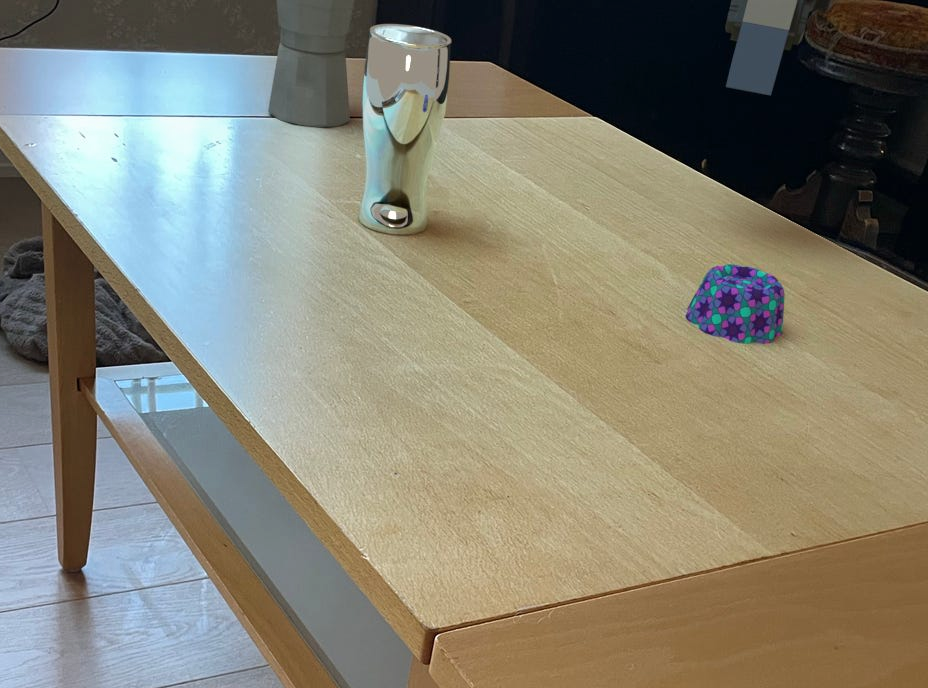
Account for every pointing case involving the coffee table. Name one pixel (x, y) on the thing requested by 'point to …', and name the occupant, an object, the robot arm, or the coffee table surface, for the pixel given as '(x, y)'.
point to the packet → (760, 45)
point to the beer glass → (401, 123)
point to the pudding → (739, 305)
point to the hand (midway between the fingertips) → (761, 38)
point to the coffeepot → (312, 63)
